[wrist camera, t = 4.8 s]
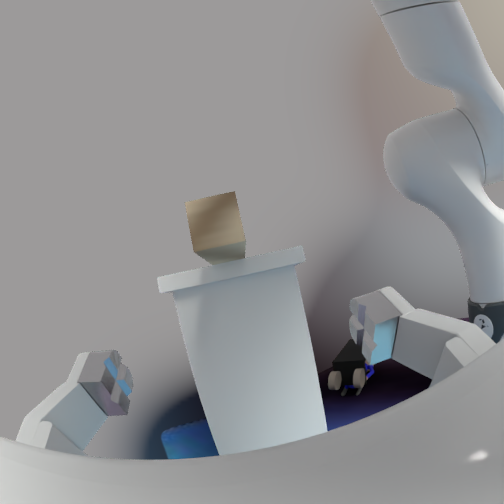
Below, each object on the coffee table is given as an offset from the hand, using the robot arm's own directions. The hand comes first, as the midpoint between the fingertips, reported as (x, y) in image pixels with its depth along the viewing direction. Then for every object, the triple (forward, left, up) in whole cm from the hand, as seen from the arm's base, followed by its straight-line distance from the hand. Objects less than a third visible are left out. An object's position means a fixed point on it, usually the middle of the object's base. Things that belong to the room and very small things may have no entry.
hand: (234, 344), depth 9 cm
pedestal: (0, -27, -22) cm, 34 cm away
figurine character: (-18, -40, -22) cm, 49 cm away
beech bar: (0, -20, +4) cm, 20 cm away
